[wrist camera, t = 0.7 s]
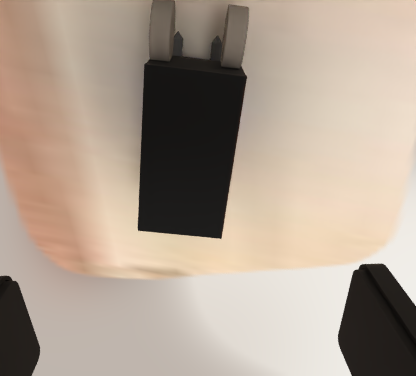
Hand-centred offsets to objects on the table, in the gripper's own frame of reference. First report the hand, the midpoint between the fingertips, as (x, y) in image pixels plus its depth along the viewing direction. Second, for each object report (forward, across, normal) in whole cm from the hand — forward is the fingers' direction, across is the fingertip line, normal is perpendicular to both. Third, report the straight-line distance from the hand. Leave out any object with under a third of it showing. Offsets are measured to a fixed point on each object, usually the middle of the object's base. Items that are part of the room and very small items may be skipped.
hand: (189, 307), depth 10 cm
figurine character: (+21, 0, 0) cm, 21 cm away
